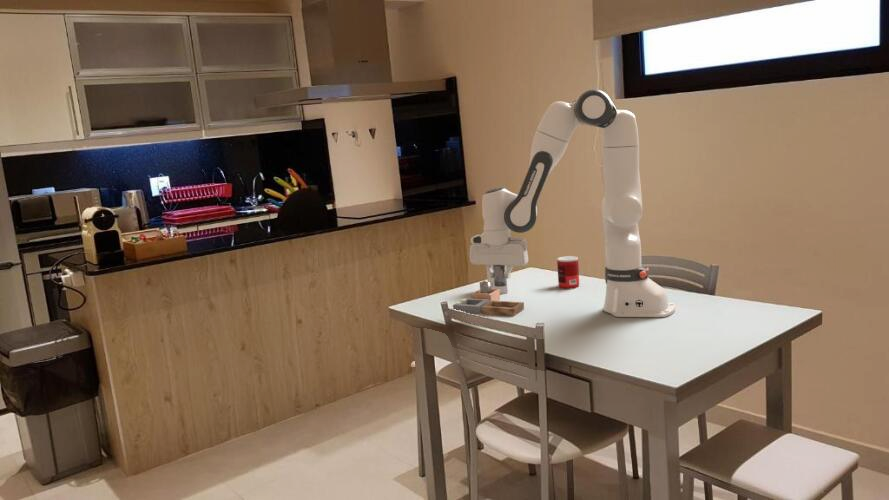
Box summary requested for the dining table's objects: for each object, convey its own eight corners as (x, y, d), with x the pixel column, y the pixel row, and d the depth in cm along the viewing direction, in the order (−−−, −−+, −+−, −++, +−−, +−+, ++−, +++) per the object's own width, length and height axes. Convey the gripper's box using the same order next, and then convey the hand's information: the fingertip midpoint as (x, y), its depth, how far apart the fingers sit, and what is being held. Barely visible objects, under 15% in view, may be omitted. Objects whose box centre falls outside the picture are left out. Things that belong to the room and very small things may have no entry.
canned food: (582, 284, 260) (581, 256, 258) (574, 289, 253) (573, 260, 251) (563, 283, 264) (562, 255, 262) (555, 288, 258) (553, 260, 255)
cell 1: (494, 300, 246) (492, 279, 244) (488, 303, 243) (486, 282, 241) (485, 299, 248) (483, 279, 247) (478, 302, 245) (477, 281, 244)
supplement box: (508, 290, 262) (505, 257, 259) (508, 295, 254) (505, 261, 252) (488, 291, 262) (486, 259, 260) (488, 296, 255) (485, 263, 253)
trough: (524, 310, 232) (523, 302, 231) (514, 317, 225) (514, 308, 225) (492, 308, 238) (491, 300, 237) (482, 315, 231) (481, 306, 231)
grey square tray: (490, 307, 239) (490, 298, 239) (479, 315, 232) (478, 306, 231) (465, 306, 244) (464, 297, 244) (453, 313, 237) (452, 304, 236)
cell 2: (508, 284, 230) (507, 262, 229) (503, 286, 227) (502, 264, 226) (497, 283, 232) (496, 261, 231) (492, 286, 229) (491, 264, 228)
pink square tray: (500, 301, 247) (499, 289, 246) (491, 306, 241) (490, 294, 240) (482, 300, 250) (481, 288, 249) (473, 305, 244) (472, 293, 243)
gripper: (530, 235, 224) (532, 276, 227) (474, 235, 234) (477, 274, 237) (522, 239, 219) (525, 281, 221) (466, 238, 229) (469, 278, 232)
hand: (500, 277), depth 229 cm, fingers closed on cell 2, 4 cm apart
